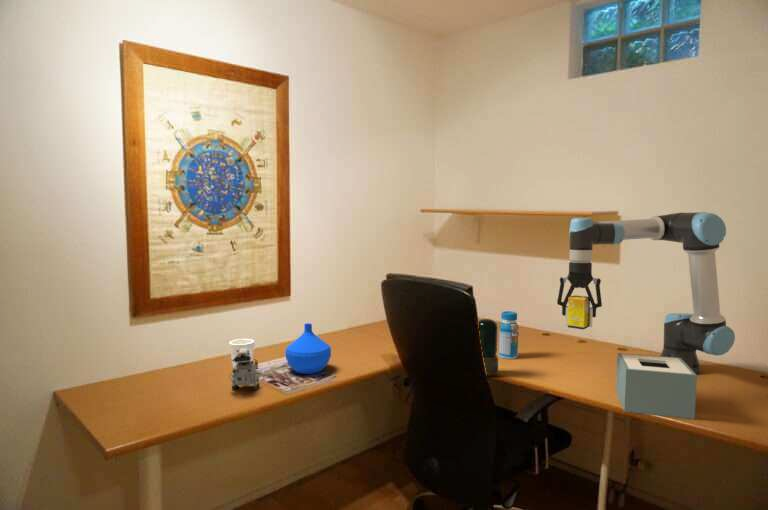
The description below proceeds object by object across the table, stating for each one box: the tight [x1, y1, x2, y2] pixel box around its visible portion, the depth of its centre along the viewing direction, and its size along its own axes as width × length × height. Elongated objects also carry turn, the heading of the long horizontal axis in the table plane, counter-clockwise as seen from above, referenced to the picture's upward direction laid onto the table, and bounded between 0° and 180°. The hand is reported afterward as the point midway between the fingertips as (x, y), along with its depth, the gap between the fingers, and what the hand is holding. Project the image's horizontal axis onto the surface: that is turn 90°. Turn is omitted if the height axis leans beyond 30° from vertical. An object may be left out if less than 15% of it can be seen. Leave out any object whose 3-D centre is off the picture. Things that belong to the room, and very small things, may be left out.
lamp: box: [477, 318, 499, 377], centre depth 203 cm, size 10×10×22 cm
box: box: [615, 352, 698, 420], centre depth 171 cm, size 20×20×14 cm
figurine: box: [229, 348, 261, 391], centre depth 183 cm, size 9×12×15 cm
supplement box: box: [567, 294, 591, 330], centre depth 182 cm, size 6×6×11 cm
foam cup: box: [228, 338, 255, 368], centre depth 202 cm, size 10×9×13 cm
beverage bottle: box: [498, 310, 520, 360], centre depth 226 cm, size 8×8×20 cm
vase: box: [284, 322, 332, 375], centre depth 206 cm, size 18×18×19 cm
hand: (578, 325), depth 182 cm, fingers closed on supplement box, 7 cm apart
